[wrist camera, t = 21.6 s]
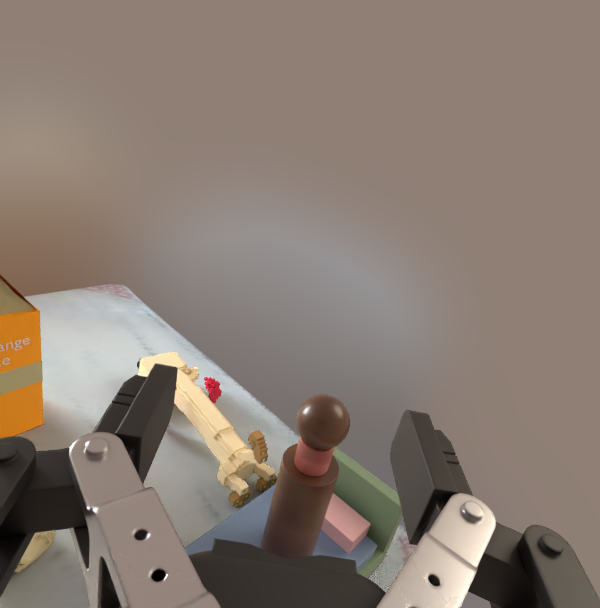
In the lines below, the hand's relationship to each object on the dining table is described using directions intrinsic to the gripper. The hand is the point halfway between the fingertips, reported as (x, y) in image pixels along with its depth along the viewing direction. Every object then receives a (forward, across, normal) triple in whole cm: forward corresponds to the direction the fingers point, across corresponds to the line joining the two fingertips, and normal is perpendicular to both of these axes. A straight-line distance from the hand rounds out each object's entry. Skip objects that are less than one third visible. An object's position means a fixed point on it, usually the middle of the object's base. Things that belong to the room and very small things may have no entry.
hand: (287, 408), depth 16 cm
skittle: (+14, -4, +26) cm, 30 cm away
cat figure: (+31, +7, +30) cm, 44 cm away
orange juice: (+28, +29, +30) cm, 50 cm away
